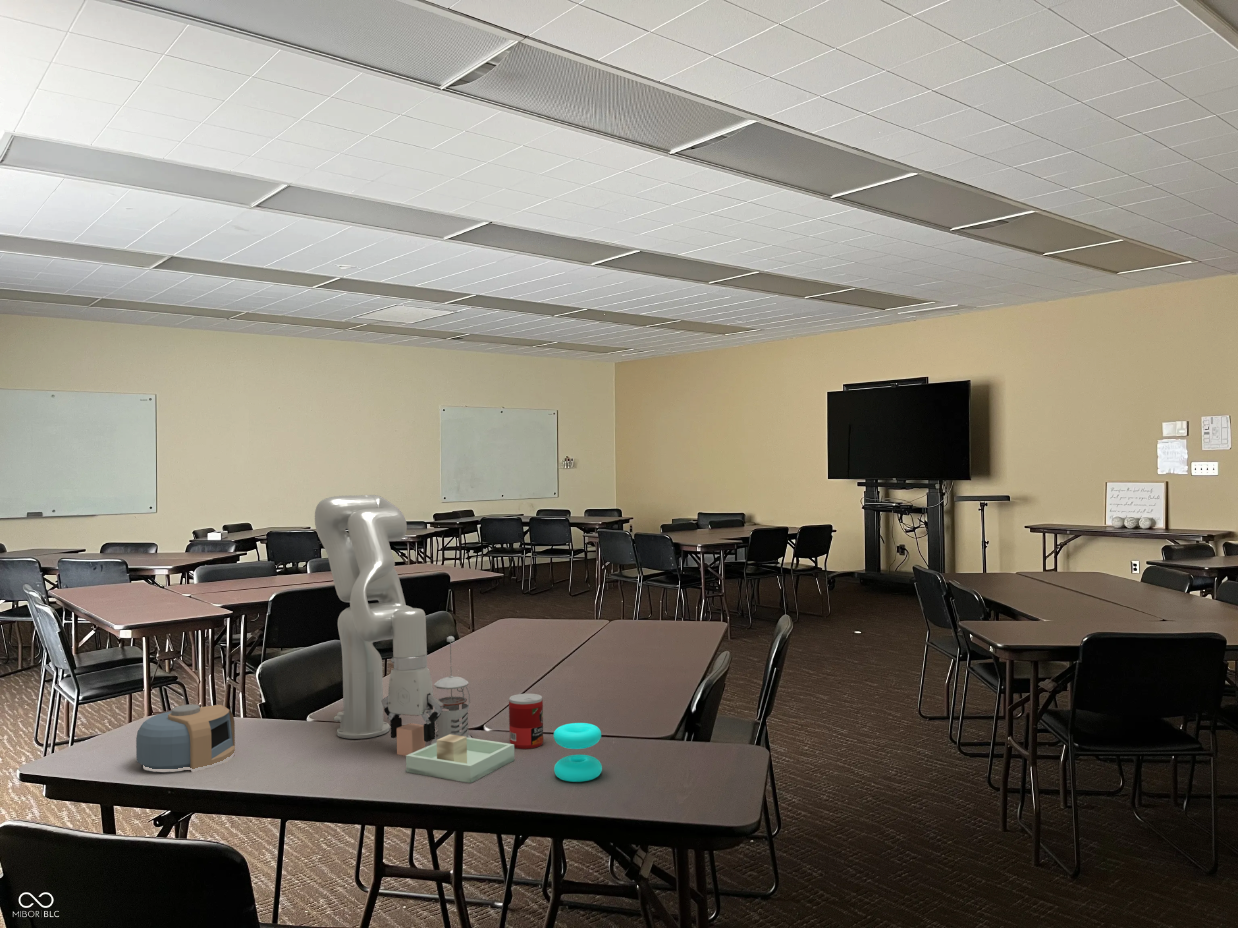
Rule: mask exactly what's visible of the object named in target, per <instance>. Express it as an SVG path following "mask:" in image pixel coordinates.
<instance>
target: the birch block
mask: <svg viewBox="0 0 1238 928" xmlns="http://www.w3.org/2000/svg"><path fill="white" fill-rule="evenodd" d="M437 759H442V760H448V761H454V762H460V763H467V737H465V736H458V735H451V734H450V735H447V736H445V737H443V738H440V739H438V740H437Z"/></svg>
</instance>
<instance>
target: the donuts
mask: <svg viewBox="0 0 1238 928" xmlns="http://www.w3.org/2000/svg"><path fill="white" fill-rule="evenodd" d="M601 738H602V731H601V729H600V728H599V727H598V726H597V725H595V724H592V723H587V722H572V723H566V724H562V725H560V726H558V727H557V728H556V729H555V730H554V731H553V740H554V741H555V743H556V744H557V745H558V746H560V747H562V748H565V749H570V750H581V749H582V750H584V749H587V748H591V747H593V746H595V745H597V744H598V742H599V741H600V740H601ZM553 768H554V769H553V772H554V774H555V776H556V777H557V778H559V780H562V781H565V782H571V783H582V782H583V783H584V782H589V781H592V780H594V779H596V778H598V777H599V776H600V774H601V773H602V771H603V765H602V762H600V760H599V759H597V757H595V756H592V755H588V754H581V753H580V754H571V755H566V756H564V757H562V758H560V759H558V760H557V762H556V763H555V764H554V767H553Z"/></svg>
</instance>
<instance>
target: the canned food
mask: <svg viewBox="0 0 1238 928" xmlns="http://www.w3.org/2000/svg"><path fill="white" fill-rule="evenodd" d="M508 718H509V719H508V722H509V724H508V725H509V728H508V729H509V744H514V749H520V750H530V749H536V748H539V747H540V746H542V745H543V743H544V701H543V696H542V695H540V694H538V693H537V694H536V693H519V694H514V695H511V696H509V699H508Z"/></svg>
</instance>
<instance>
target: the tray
mask: <svg viewBox="0 0 1238 928" xmlns="http://www.w3.org/2000/svg"><path fill="white" fill-rule="evenodd" d="M513 761H515V748H514V744H510V743H509V742H508V743H507V742H501V741H493V740H486V739H482V738H481V739H479V738H473V737H472V738H467V763H460V762H454V761H448V760H442V759H437V742H436V743H434V744H432V743H431V744H430V745H427V746H425V748H422V749H420V750H418V751H415V752H413V753H411V754H409V755H406V756H405V769H406V770H405V771H406V773H409V774H410V773H411V774H416V775H422V776H427V777H433V778H438V779H445V780H451V781H455V782H462V783H468V784H471V783H474V782H476V781H478V780H479V779H481V778H483V777H485V776H487V775H490V774H491V773H493V772H495V771H497V770H499V769H501V768H502V767H504V766H506V765H508V764H510V763H512V762H513Z"/></svg>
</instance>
